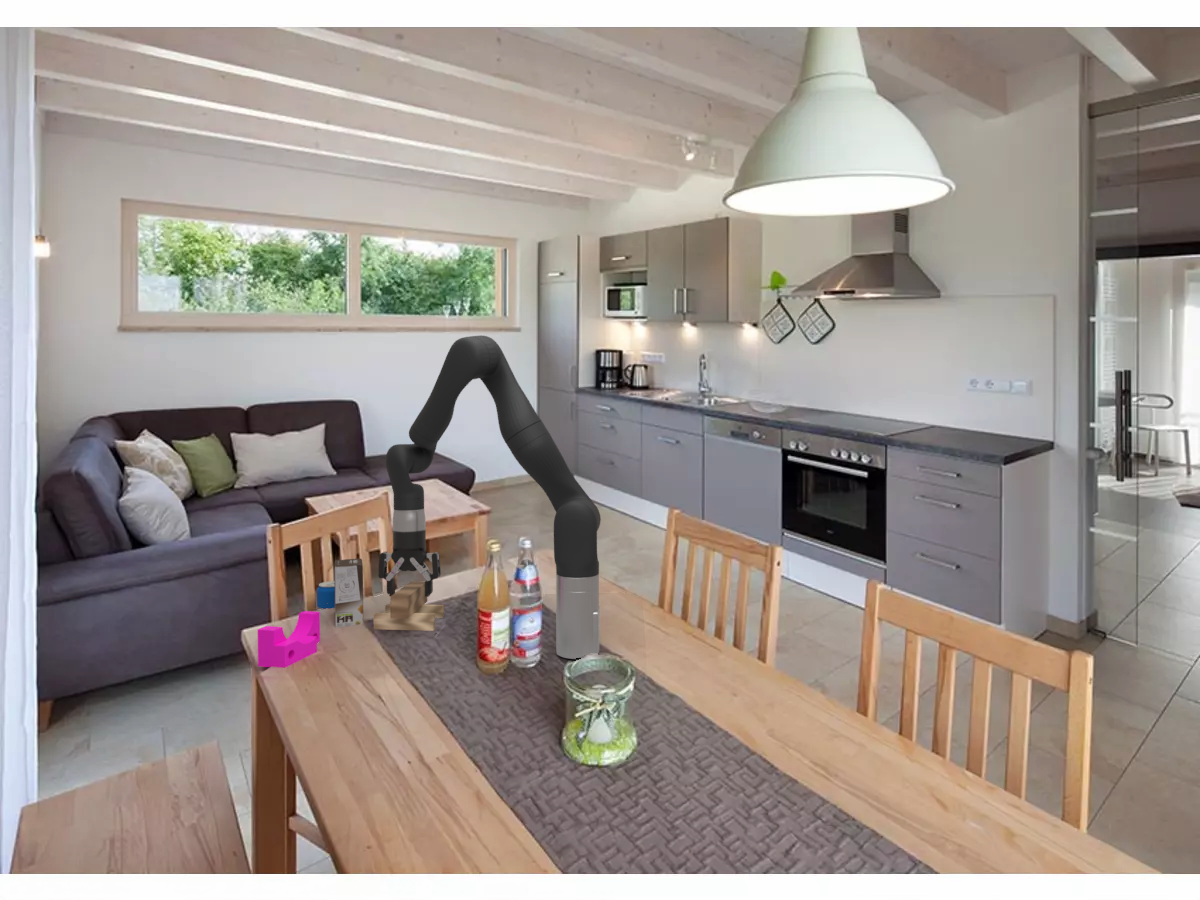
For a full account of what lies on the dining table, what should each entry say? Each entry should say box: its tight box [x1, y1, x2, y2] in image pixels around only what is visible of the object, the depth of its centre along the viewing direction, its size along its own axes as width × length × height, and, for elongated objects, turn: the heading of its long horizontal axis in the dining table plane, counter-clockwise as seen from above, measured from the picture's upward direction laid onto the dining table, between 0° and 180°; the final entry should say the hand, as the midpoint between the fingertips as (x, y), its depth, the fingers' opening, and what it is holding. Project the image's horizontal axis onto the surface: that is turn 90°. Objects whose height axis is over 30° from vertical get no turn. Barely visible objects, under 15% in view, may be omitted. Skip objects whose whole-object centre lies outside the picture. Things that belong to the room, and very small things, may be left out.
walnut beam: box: [389, 580, 428, 618], centre depth 167 cm, size 16×4×5 cm, turn 178°
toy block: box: [257, 610, 321, 669], centre depth 149 cm, size 15×6×8 cm, turn 167°
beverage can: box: [316, 580, 335, 610], centre depth 177 cm, size 6×6×12 cm
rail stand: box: [372, 603, 445, 636], centre depth 167 cm, size 16×13×5 cm
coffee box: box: [334, 558, 364, 628], centre depth 169 cm, size 9×6×16 cm
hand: (410, 595), depth 167 cm, fingers open, 8 cm apart
